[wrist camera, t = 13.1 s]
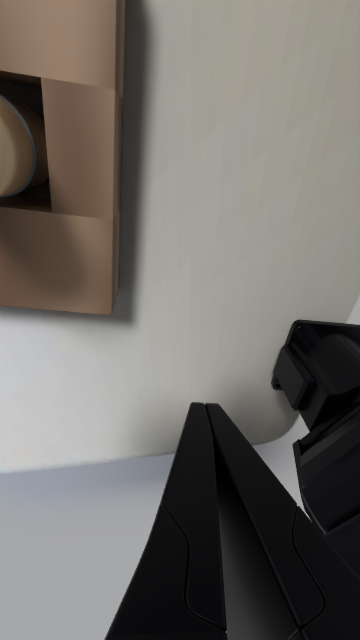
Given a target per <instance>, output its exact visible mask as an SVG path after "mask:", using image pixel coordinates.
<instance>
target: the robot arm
mask: <svg viewBox="0 0 360 640" xmlns="http://www.w3.org/2000/svg"><path fill="white" fill-rule="evenodd" d="M301 325H302V326H301ZM299 326H301V328H298V327H299ZM297 328H298V329H297ZM277 383H279V384H277ZM271 384H272V386H273V388H274V389H276V390H283V391H284V393H285V395H286V397H287V399H288V401H289V403H290V405H291V407H292V408H293V409H294V410H295V411H299V412H300V414H301V416H302V418H303V420H304V422H305V424H306V426H307V428H308V429H309V431H310V433H308V434H307V435H306V436H305V437H303V438H302V439H301V440H299V439H298V440H297V441H296V442H295V443H294V444H293V450H294V457H295V463H296V468H297V475H298V482H299V488H300V494H301V498H302V502H303V505H304V509H305V511H306V513H307V514H308V516H309V518H310V519H311V521H312V522H311V521H310V519H309V518H308V517H307V516H306V514H305V513H304V512H303V511H302V509H301V508H300V507H299V506H297V503H296V502H295V501H294V499H293V498H292V497H291V495H290V494H289V493H288V492H287V490H286V489H285V488H284V486H283V485H282V484H281V483H280V482H279V480H278V479H277V478H276V476H275V475H274V474H273V473H272V471H271V470H270V469H269V467H268V466H267V465H266V464H265V462H264V461H263V460H262V458H261V457H260V456H259V455H258V453H257V452H256V451H255V450H254V448H253V447H252V446H251V444H250V443H249V442H248V441H247V439H246V438H245V437H244V436H243V434H242V433H241V432H240V430H239V429H238V428H237V427H236V425H235V424H234V423H233V422H232V420H231V419H230V418H229V416H228V415H227V414H226V413H225V411H224V410H223V409H222V408H221V406H220V405H219V404H217V403H205V404H204V403H200V402H192V403H191V404H190V407H189V410H188V414H187V417H186V420H185V423H184V427H183V430H182V433H181V436H180V440H179V443H178V446H177V450H176V453H175V456H174V459H173V463H172V466H171V469H170V472H169V476H168V479H167V483H166V486H165V489H164V493H163V495H162V499H161V503H160V505H159V508H158V511H157V514H156V518H155V521H154V524H153V527H152V530H151V532H150V535H149V539H148V541H147V544H146V546H145V549H144V551H143V554H142V556H141V558H140V561H139V563H138V566H137V568H136V570H135V573H134V575H133V577H132V579H131V582H130V584H129V586H128V588H127V590H126V593H125V595H124V597H123V599H122V602H121V604H120V606H119V608H118V611H117V613H116V615H115V617H114V620H113V622H112V624H111V626H110V628H109V631H108V633H107V635H106V637H105V640H360V325H354V324H343V323H332V322H321V321H309V320H297V321H295V322H294V323H293V324H292V327H291V330H290V332H289V335H288V338H287V341H286V343H285V345H284V346H283V347H282V350H281V353H280V355H279V358H278V361H277V364H276V366H275V369H274V376H273V379H272V382H271ZM226 631H227V633H226ZM227 635H228V638H227Z"/></svg>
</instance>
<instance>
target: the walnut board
mask: <svg viewBox="0 0 360 640" xmlns="http://www.w3.org/2000/svg"><path fill="white" fill-rule="evenodd" d="M125 9H126V0H0V80H3V81H9V82H15V83H21V84H27V85H33V86H39V87H42V97H43V109H44V121H45V134H46V146H47V158H48V170H49V183H50V195H51V201H47V200H38V199H30V198H22V197H14V196H8V197H2V198H0V306H9V307H21V308H33V309H45V310H56V311H68V312H80V313H92V314H104V315H112V311H113V308H114V305H115V302H116V298H117V295H118V273H119V235H120V197H121V160H122V122H123V85H124V47H125Z"/></svg>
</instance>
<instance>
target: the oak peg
mask: <svg viewBox="0 0 360 640" xmlns="http://www.w3.org/2000/svg"><path fill="white" fill-rule="evenodd" d="M48 177H49V170H48V158H47V146H46V134H45V123H44V121H43V120H42V119H41V117H40V116H39V115H38V114H37V113H36V112H35V111H33V110H32V109H31V108H29V107H28V106H27V105H25V104H23V103H21V102H18V101H16V100H13V99H10V98H7V97H4V96H2V95H1V94H0V198H2V197H8V196H12V195H15V194H17V193H19V192H21V191H23V190H24V189H28V188H31V187H35V186H37V185H39V184H41V183H43V182H44V181H45V180H46V179H47V178H48Z"/></svg>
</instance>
